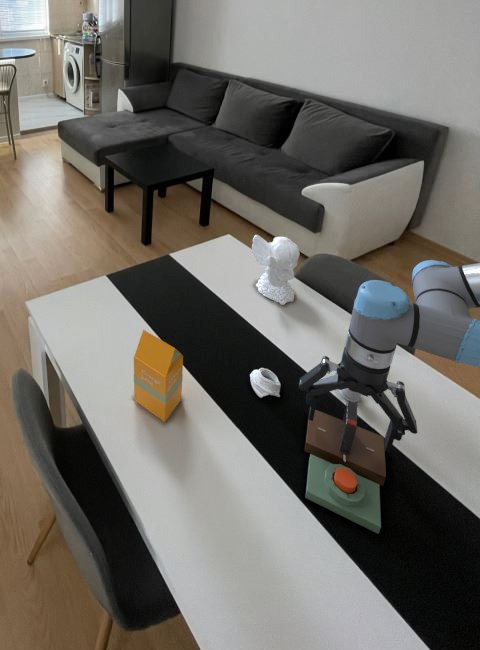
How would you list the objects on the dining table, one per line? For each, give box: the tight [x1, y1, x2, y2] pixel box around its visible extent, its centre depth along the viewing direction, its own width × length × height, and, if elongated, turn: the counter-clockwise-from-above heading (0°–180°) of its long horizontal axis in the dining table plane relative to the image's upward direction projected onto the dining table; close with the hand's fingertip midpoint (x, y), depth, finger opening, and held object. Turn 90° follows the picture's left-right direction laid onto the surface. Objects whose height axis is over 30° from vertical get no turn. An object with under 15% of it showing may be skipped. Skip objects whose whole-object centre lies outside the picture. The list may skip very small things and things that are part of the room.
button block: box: [305, 454, 382, 535], centre depth 83 cm, size 12×8×4 cm, turn 59°
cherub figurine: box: [251, 234, 301, 306], centre depth 132 cm, size 13×12×20 cm
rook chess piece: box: [338, 388, 362, 403], centre depth 101 cm, size 4×4×8 cm
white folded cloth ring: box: [249, 367, 282, 399], centre depth 106 cm, size 8×7×5 cm
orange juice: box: [133, 329, 184, 423], centre depth 101 cm, size 8×9×20 cm
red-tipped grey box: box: [340, 400, 358, 454], centre depth 89 cm, size 6×2×8 cm, turn 148°
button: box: [334, 468, 357, 494], centre depth 82 cm, size 4×4×2 cm
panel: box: [304, 409, 387, 487], centre depth 91 cm, size 14×10×3 cm
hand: (347, 430), depth 89 cm, fingers open, 13 cm apart
